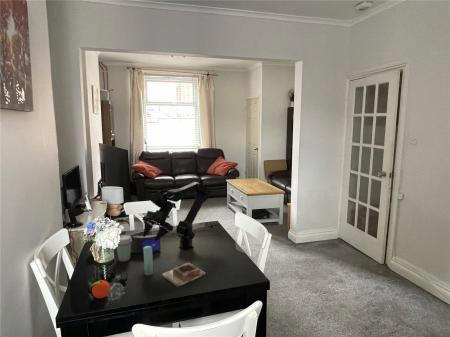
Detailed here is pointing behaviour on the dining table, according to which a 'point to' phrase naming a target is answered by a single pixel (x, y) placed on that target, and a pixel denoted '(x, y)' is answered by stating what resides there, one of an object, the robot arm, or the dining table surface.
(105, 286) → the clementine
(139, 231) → the dining table surface
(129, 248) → the coffee cup
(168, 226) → the robot arm
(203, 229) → the dining table surface
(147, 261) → the peg
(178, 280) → the keyhole socket
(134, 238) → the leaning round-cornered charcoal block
